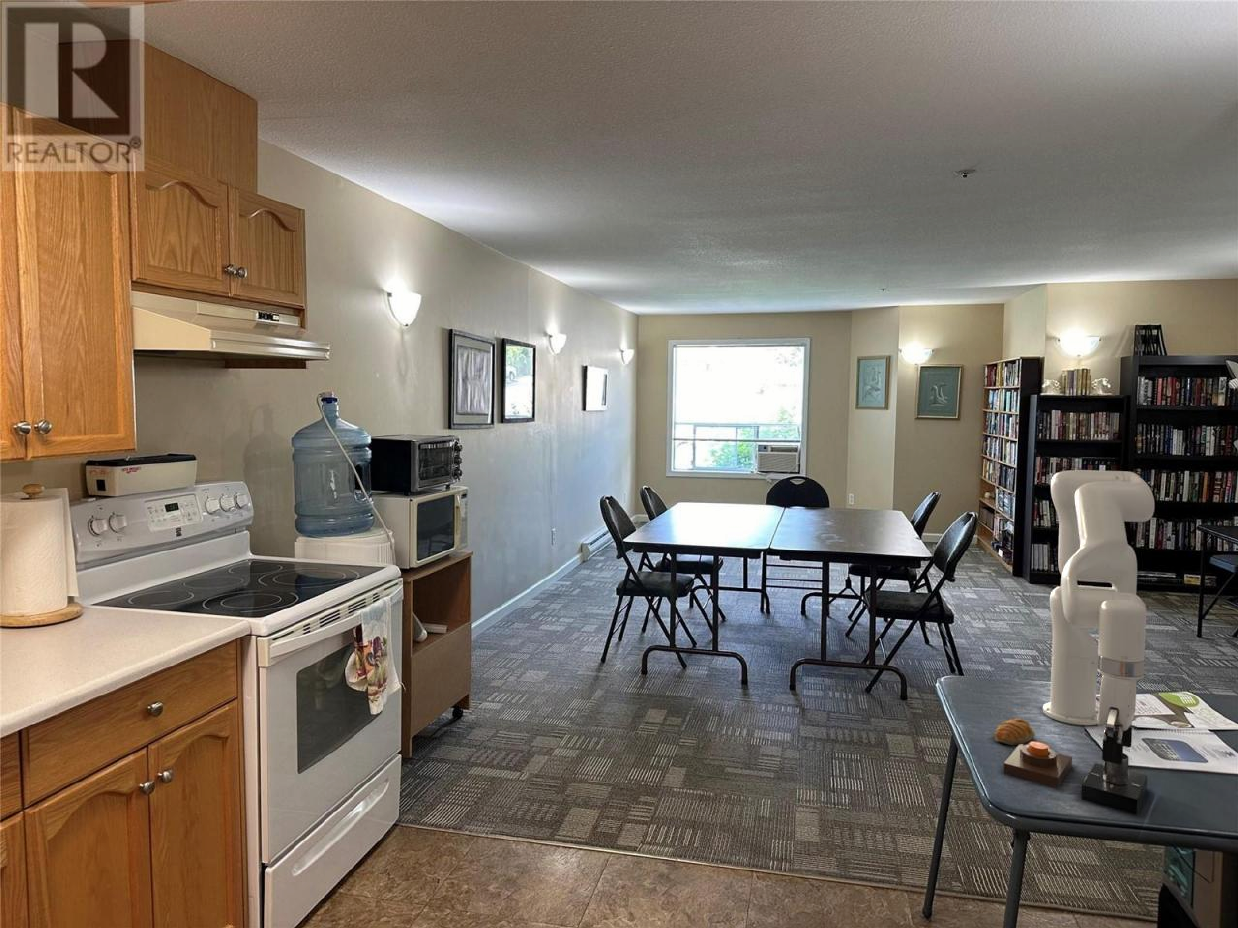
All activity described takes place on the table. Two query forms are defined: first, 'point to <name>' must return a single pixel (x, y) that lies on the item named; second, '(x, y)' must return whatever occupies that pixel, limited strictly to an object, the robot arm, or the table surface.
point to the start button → (1038, 748)
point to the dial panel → (1114, 790)
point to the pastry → (1014, 732)
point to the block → (1038, 766)
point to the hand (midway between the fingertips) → (1116, 753)
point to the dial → (1116, 771)
